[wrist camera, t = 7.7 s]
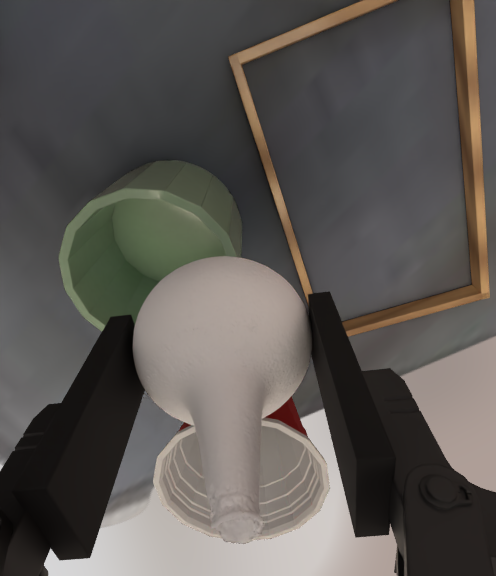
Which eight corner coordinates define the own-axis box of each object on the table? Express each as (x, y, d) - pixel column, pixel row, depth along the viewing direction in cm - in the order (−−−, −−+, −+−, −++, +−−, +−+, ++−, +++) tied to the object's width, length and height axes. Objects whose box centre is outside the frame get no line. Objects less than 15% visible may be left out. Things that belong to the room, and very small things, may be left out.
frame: (228, 58, 22) (227, 56, 21) (458, -38, 20) (472, -46, 19) (318, 334, 32) (320, 344, 31) (479, 288, 30) (490, 297, 28)
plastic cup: (281, 293, 30) (299, 406, 19) (319, 388, 35) (350, 521, 24) (159, 334, 32) (115, 458, 21) (211, 419, 36) (197, 554, 26)
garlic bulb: (131, 247, 13) (5, 430, 6) (307, 238, 13) (378, 415, 6) (160, 381, 16) (97, 605, 9) (303, 374, 16) (348, 597, 9)
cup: (83, 188, 26) (21, 226, 19) (212, 138, 24) (198, 160, 17) (146, 301, 30) (115, 367, 23) (259, 264, 29) (263, 323, 22)
